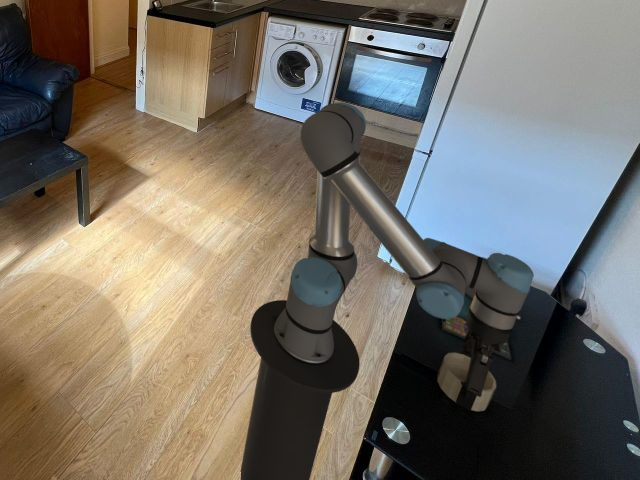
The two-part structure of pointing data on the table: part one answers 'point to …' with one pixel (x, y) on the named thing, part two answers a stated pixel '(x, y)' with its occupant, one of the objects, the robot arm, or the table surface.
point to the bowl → (455, 372)
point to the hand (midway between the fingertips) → (462, 388)
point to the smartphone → (460, 329)
